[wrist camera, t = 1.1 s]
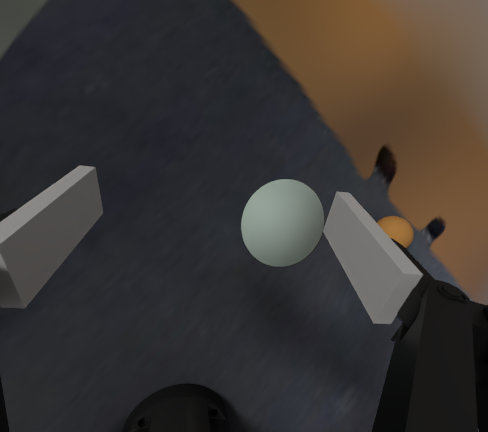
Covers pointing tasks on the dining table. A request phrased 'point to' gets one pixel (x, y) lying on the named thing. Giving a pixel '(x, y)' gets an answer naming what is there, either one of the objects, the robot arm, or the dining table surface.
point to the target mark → (282, 222)
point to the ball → (397, 229)
